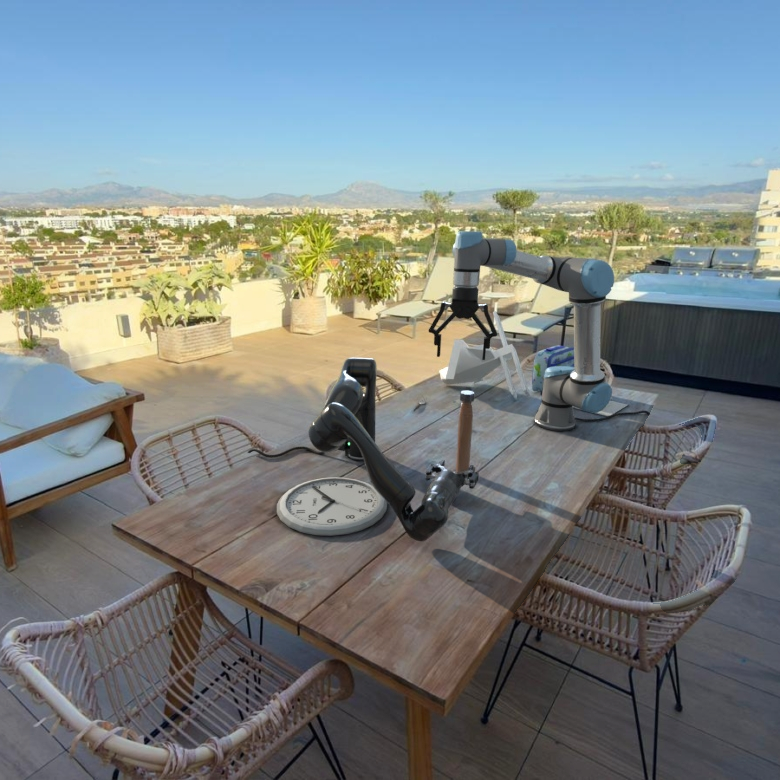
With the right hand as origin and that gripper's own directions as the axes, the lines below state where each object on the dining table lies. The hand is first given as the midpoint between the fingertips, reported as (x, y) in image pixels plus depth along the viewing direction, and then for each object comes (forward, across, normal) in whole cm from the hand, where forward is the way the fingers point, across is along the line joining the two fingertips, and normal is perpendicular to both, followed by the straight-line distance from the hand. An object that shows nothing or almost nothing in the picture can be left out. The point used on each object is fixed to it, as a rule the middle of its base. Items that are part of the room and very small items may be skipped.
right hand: (460, 357), depth 158 cm
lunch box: (+35, -40, -92) cm, 106 cm away
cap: (+9, -3, +6) cm, 11 cm away
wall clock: (+36, +31, +33) cm, 58 cm away
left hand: (+29, -2, +14) cm, 32 cm away
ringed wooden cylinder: (+36, -3, +6) cm, 36 cm away
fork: (+35, +18, -54) cm, 67 cm away
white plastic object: (+35, -6, -80) cm, 88 cm away
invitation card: (+35, -58, -72) cm, 99 cm away
